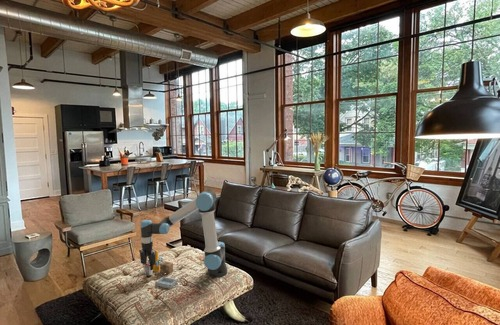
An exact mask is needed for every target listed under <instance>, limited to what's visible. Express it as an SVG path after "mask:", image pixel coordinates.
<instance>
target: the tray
mask: <svg viewBox="0 0 500 325" xmlns="http://www.w3.org/2000/svg"><path fill="white" fill-rule="evenodd" d="M178 284H179V283H178V278H177V279H176V278H171V277H167V276H163V277H161V278H159V279H158V280H157V281H155V286H156V287H159V286H160V287H161V288H164V289H168V288H169V289H168V290H171V289H172V288H173V287H175V286H176V285H178Z"/></svg>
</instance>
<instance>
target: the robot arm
mask: <svg viewBox="0 0 500 325" xmlns="http://www.w3.org/2000/svg"><path fill="white" fill-rule="evenodd" d="M216 200H217V193H216V192H215V191H214V190H213V189H210V188H208V189H204V190H203V191H202V192H200V193H199V194H198V195H196V198H195V199H193V200H191V201H190V202H188V203H187V204H185V205H183V206H182V207H181V208H178V209H177V210H176V211H174V212H172V213H171V214H169V215H168V216H165V217H164V218H163V219H162V220H160V221H159V222H156V223H155V222H153V221H152V220H151V219H143V220H141V221H140V236H141V237H140V238H141V239H140V241H141V248H140V249H139V250H138V252H139V259H140V264H142V266H143V270H144V272H143V273H144V274H145V275H146V266H145V264H147V263H148V260H149V264H150V265H149V275H151V274H152V275H153V274H154V272H153V265H154V264H155V254H156V251H154V249H153V247H154V243H153V235H168V234H169V232H170V228H171V227H172V226H174V225H175V224H177V223H178V222H180V221H182V220H183V219H184V218H185V219H186V217H188V216H190V215H191V214H193V213H195V212H196V211H198V213H199V214H200V216H201V220H202V221H201V222H202V228H203V229H202V230H203V236H204V244H205V248H204V249H203V251H204V258H203V264H204V266H205V268H207V270H206V272H207V276H209V277H213V278H218V277H219V278H220V277H224V276H225V275H227V274H228V272H229V271H228V266H227V264H226V246H225V245H226V244H225V242H223V241H218V236H217V234H218V233H217V227H216V220H215V211H216V203H215V202H216Z"/></svg>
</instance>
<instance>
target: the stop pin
mask: <svg viewBox="0 0 500 325" xmlns="http://www.w3.org/2000/svg"><path fill="white" fill-rule="evenodd" d="M149 265H150V264H149V263H148V262H147V263H146V264H145V266H146V274H145V275H146V278H150V277H151V275H149Z"/></svg>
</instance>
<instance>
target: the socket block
mask: <svg viewBox="0 0 500 325" xmlns="http://www.w3.org/2000/svg"><path fill="white" fill-rule="evenodd" d="M154 278H155V274H153V273H152V274H151V277H150V278H146V274H145V275H144V276H142V277H141V279H142V280H141V281H142V282H147V283H150V282H152V281H153V280H154Z"/></svg>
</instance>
